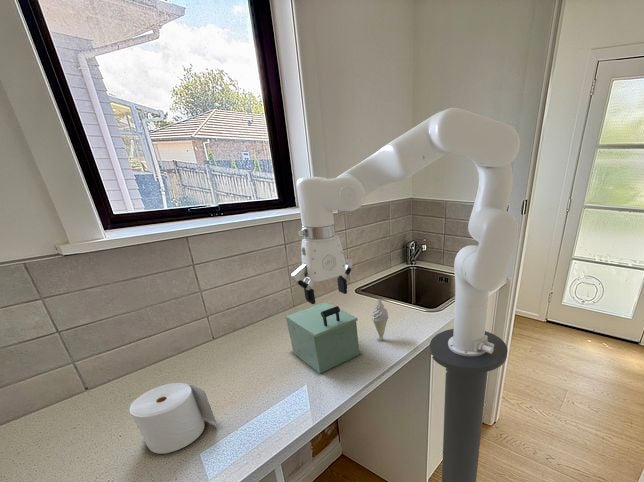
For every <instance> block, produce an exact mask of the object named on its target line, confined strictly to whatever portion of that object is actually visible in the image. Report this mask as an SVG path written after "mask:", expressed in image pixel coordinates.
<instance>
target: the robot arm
mask: <svg viewBox="0 0 644 482" xmlns="http://www.w3.org/2000/svg"><path fill="white" fill-rule="evenodd" d="M520 138H521V137H520V135H519V133H518V131H517V130H516V128H514V127H513V126H512V125H510V124H508V123H506V122H503V121H500V120H498V119H497V120H496V119H495V118H491V117H488V116H484V115H481V114H479V113H476V112H473V111H470V110H467V109H463V108H460V107H448V108H447V109H444V110H440V111H438V112H437V113H435V114H433V115H431V116H429V117H428V118H426V119H424V120H423V121H422V122H420V123H419V124H417V125H416V126H413V127H412V128H411V129H409V130H407V131H406V132H405V133H403V134H401V135H400V136H398V137H396V138H395V139H393V140H391V141H390V142H388V143H386V144H385V145H384V146H381V148H380V149H378V150H377V151H376V152H374V153H373V154H371V155H370V156H368V157H367V158H365V159H364V160H362V161H360V162H359V163H357V164H355V165H354V166H352V167H350V168H349V169H347V170H345V171H344V172H342V173H341V174H339V175H338V176H337V177H333V178H327V177H324V176H303V177H300V178H298V179H297V181H296V184H295V186H296V193H297V199H298V206H299V213H300V219H301V229H300V230H298V231H297V234H298V237H303V238H302V239H301V250H300V251H301V253H300V254H301V255H300V256H301V265H300V266H299V267H298V268H297V269H296V270H294V271H293V272H292V273H291V275H290V276H291V278H292V279H293V281H294V282H295V284H296V285H298V286H300V287H301V288H303V293H304V298H305V301H306V302H307V303H309V304H311V305H315V304H316V297H315V290H314V289H313V286H314V284H315V283H319V282H323V281H326V280H327V281H328V280H330V279H333V278H337V279H336V280H337V287H338V288H337V289H338V292H339V293H341V294H343V295H347V294H348V281H347V280H348V279H349V275H350V273H351V272H352V268H353V264H354V261H353V260H352V259H350V258H346V257H345V254H344V249H343V247H342V246H343V245H342V242H341V238H340V237H339V235H337V234H336V230H335V229H336V225H335V216H334V211H341V212H353V211H356V210H358V209H360V208H361V207H362V205H363V204H364V203H365V198H366V197H367V196H368V195H370V194H372V193H374V192H375V191H377V190H378V189H380V188H382V187H384V186H387V185H389V184H393V183H396V182H401V181H403V180H406V179H408V178H410V177H413V176H414V175H415V174H417V173H419V172H420V171H422V170H423V169H425V168H426V167H428V166H429V165H431V164H432V163H434V162H436V161H438V160H439V159H441V158H442V157H444V156H446V155H447V154H452V155H456V156H459V157H461V158H465V159H467V160H470V161H471V162H472V163H473V164H474V166H475V168H476V171H477V174H478V187H477V190H476V196H475V199H474V203H473V206H472V210H471V214H470V217H469V220H468V225H467V231H468V234H469V235H470V237H471V238H472V239H473V240H475V241H476V242H477V243H478V245H474V244H472V245H471V244H470V245H466V246H464V247H462V248H461V249H460V250H459V251H458V252H457V254H456V255H455V258H454V262H453V268H454V269H453V272H454V284H455V285H454V286H455V287H454V288H455V291H454V311H453V312H454V313H453V329H454V332H453V337H451V338H450V339H449V341H448V347H449V349H450V350H451V351H452V352H454V353H456V354H458V355H461V356H468V357H474V356H479V355H482V354H484V353H486V352H488V353H490V354H492V353H493V350H494V348H493V347H494V344H493V343H490V342H488V341H487V338H488V336H487V335H485V331H486V324H487V313H488V303H489V292H492V291H495V290H496V289H497V288H499V286H500V285H501V284H502V283H503V281H504V280H505V277H506V275H507V272H508V269H509V267H510V264H511V261H512V258H513V256H514V252H515V249H516V246H517V243H518V239H519V234H520V233H519V231H520V229H519V223H518V221H517V219H516V217H515V215H513V214H512V213H511V212H509V211H508V207H509V203H510V199H511V196H512V191H513V186H514V172H513V168H512V164H511V163H513V161H514V160H515V159H516V158H517V156H518V154H519V152H520V149H521V139H520ZM302 275H303V276H304V278H303V279H302V278H301V276H302Z"/></svg>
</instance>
